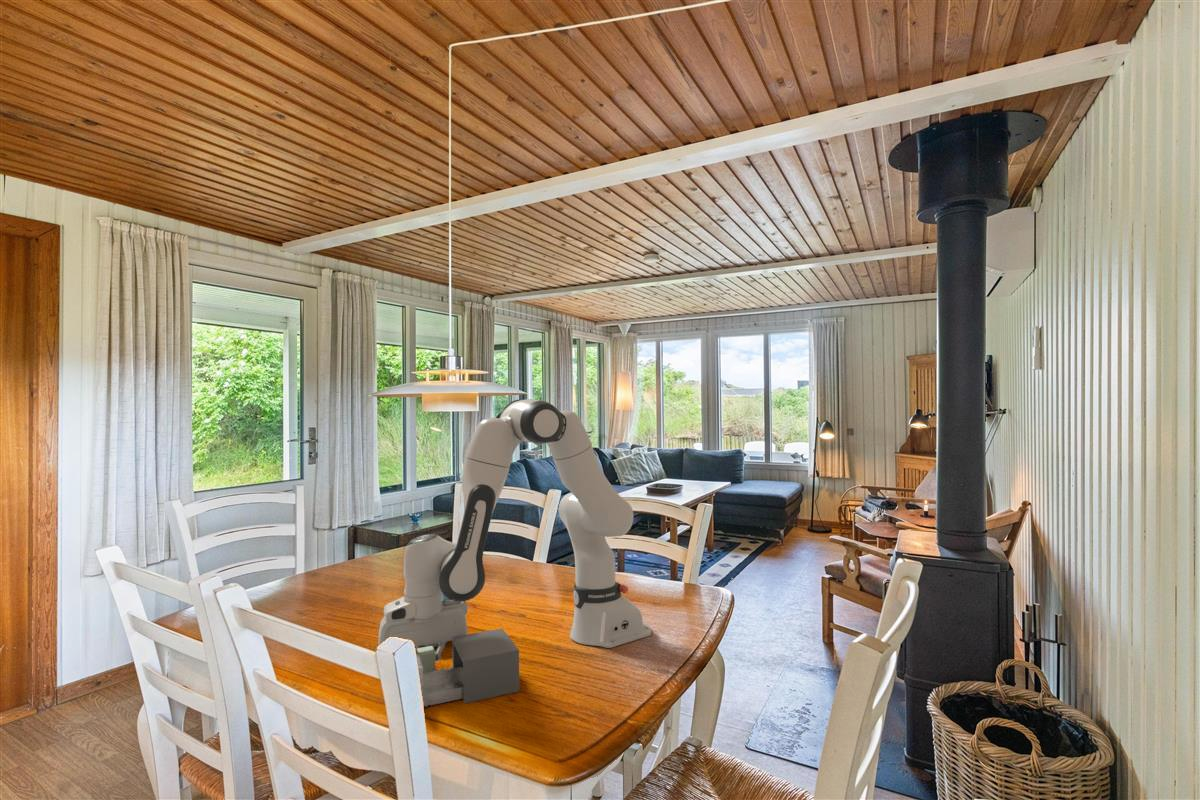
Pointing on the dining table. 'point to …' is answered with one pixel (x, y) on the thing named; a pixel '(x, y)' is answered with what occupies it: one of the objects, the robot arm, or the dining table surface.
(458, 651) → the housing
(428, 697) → the tray
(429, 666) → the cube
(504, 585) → the dining table surface
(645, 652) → the dining table surface
